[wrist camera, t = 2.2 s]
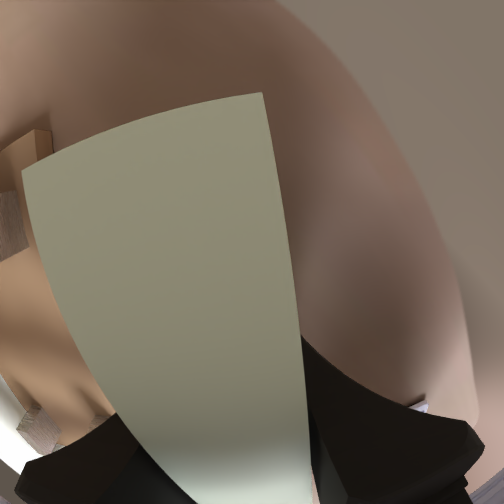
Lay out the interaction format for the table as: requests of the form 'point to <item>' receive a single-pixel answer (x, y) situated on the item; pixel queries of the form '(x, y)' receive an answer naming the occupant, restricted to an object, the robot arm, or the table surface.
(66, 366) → the mount plate
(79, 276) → the door panel
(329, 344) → the table surface
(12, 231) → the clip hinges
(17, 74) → the table surface
